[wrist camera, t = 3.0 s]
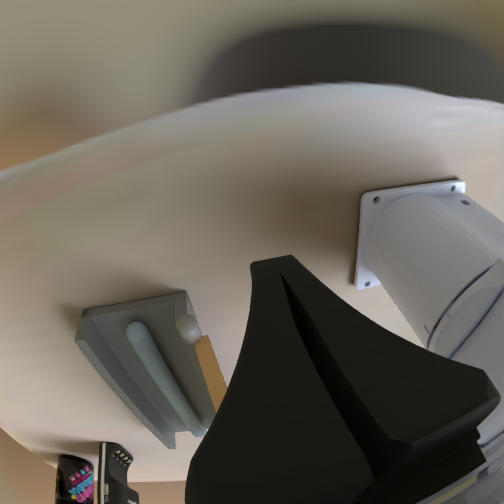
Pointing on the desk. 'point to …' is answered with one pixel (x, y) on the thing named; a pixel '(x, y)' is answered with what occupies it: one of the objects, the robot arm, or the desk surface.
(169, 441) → the grey tray with rod
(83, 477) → the supplement container
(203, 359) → the cover
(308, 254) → the desk surface
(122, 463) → the battery charger
